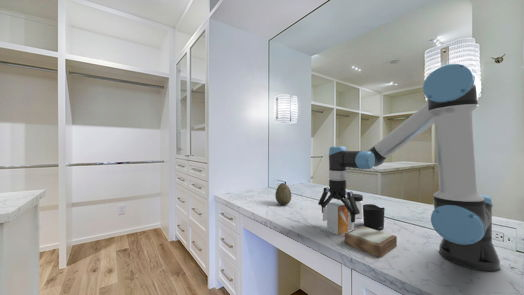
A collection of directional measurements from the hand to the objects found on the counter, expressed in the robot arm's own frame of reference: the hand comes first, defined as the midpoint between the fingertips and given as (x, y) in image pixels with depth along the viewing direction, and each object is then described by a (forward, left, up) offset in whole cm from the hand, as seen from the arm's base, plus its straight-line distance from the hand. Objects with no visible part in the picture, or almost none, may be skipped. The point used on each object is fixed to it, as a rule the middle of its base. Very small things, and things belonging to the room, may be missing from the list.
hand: (337, 224), depth 99 cm
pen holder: (-8, -18, -3) cm, 20 cm away
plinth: (-16, +2, -3) cm, 16 cm away
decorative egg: (+48, -10, -3) cm, 49 cm away
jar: (+6, -26, -3) cm, 27 cm away
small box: (0, 0, -3) cm, 3 cm away
